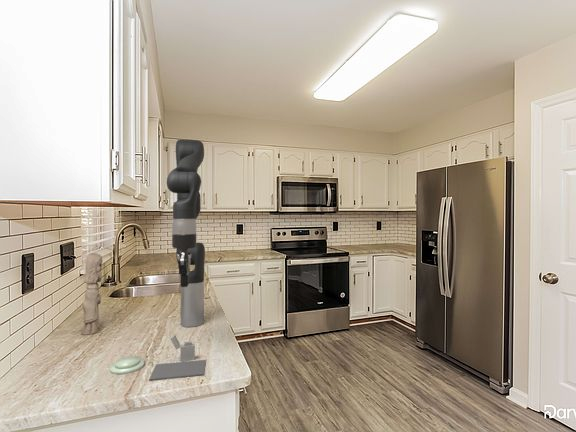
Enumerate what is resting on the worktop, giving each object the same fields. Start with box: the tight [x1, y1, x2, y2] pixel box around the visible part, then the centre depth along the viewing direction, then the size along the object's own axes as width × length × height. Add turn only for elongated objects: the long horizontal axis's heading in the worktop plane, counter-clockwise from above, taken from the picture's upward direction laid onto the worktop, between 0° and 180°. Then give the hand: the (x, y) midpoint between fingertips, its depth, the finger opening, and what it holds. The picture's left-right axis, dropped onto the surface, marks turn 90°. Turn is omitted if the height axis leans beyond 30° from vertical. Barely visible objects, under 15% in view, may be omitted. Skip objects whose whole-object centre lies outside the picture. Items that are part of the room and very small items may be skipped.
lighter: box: [169, 333, 196, 362], centre depth 96 cm, size 7×2×8 cm, turn 108°
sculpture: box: [80, 252, 103, 336], centre depth 122 cm, size 7×7×30 cm
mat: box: [148, 359, 206, 382], centre depth 90 cm, size 9×14×1 cm, turn 102°
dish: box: [109, 355, 145, 375], centre depth 92 cm, size 9×9×2 cm
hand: (184, 286), depth 103 cm, fingers closed
